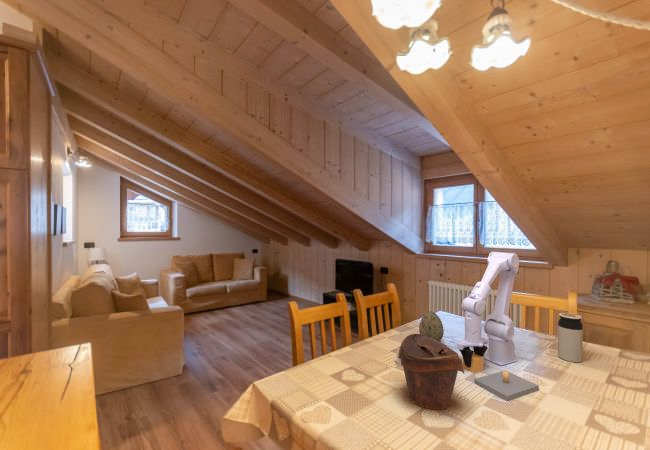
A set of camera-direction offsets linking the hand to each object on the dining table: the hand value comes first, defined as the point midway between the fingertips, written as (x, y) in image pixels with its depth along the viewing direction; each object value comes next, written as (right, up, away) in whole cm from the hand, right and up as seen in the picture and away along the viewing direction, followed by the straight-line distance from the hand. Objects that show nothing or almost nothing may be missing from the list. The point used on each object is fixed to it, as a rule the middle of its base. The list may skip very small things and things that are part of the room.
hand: (472, 365), depth 119 cm
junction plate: (+5, -1, -13) cm, 14 cm away
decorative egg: (-7, -2, +25) cm, 26 cm away
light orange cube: (0, -1, 0) cm, 1 cm away
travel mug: (+45, -2, +10) cm, 46 cm away
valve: (-22, -2, +4) cm, 23 cm away
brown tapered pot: (-23, -1, -21) cm, 31 cm away
